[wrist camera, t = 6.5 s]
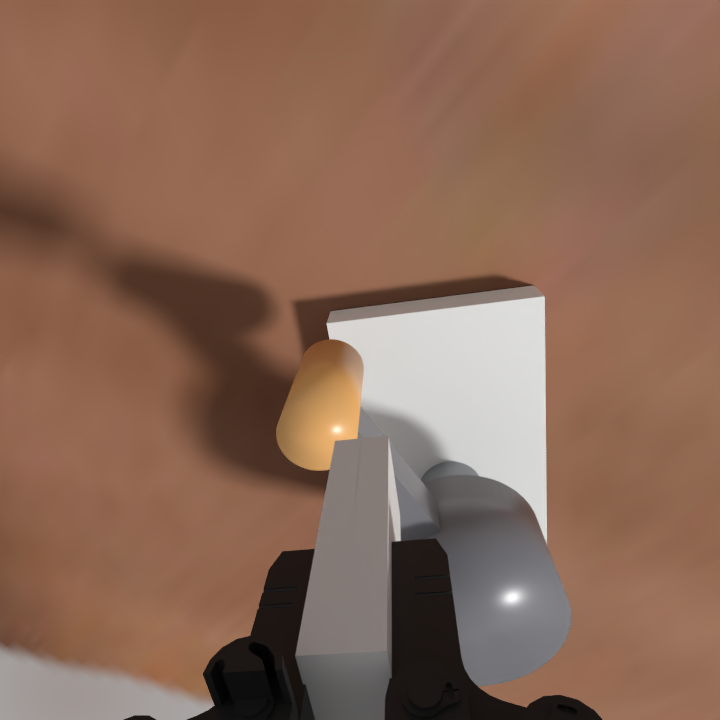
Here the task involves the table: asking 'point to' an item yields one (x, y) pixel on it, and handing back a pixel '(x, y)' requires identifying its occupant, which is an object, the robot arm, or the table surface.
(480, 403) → the post base
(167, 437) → the table surface
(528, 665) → the orange knob joystick
